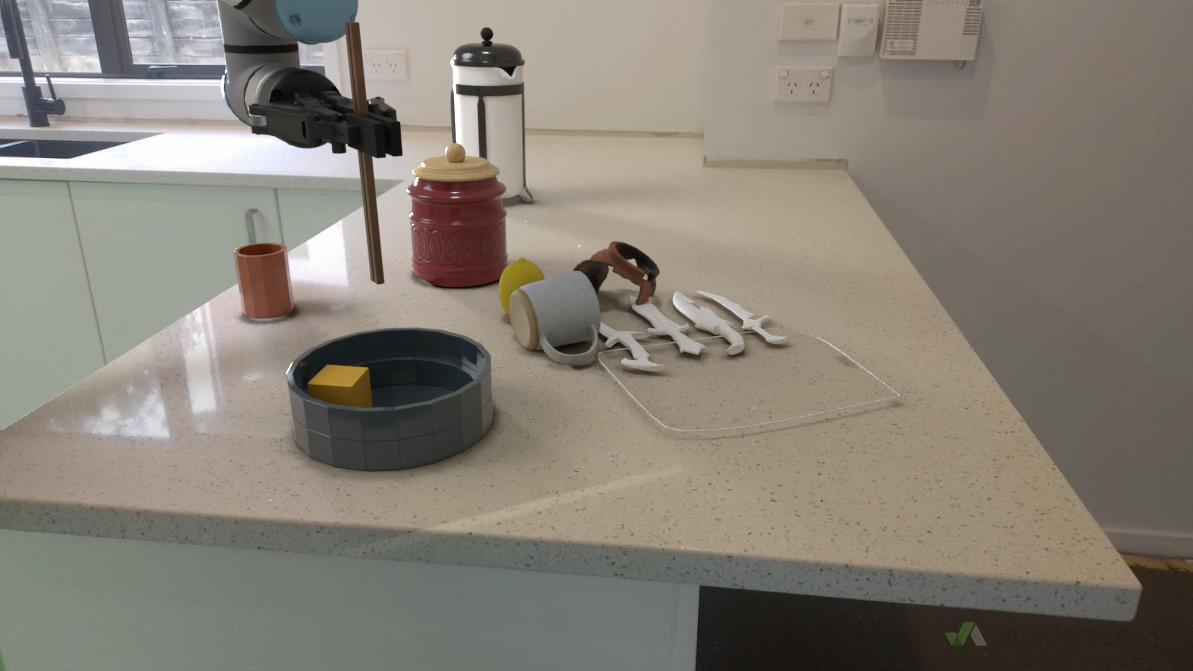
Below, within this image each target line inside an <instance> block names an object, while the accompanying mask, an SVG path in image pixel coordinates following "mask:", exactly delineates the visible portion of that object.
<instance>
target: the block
mask: <svg viewBox="0 0 1193 671" xmlns="http://www.w3.org/2000/svg"><path fill="white" fill-rule="evenodd" d="M308 390H309V397H312V398H315V399H318V400H321V401H324V402H327V403H330V404H334V405H342V406H351V407H359V408H372V397H371V386H370V376H369V368H367V367H352V366H338V365H326V366H325V367H324V368H323V369H322V370H321V371H320V372H319V373H318V374H317V375H316V376H315V377H314V378H313V379H312V380H311V381H310V382H309V383H308Z"/></svg>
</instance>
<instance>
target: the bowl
mask: <svg viewBox="0 0 1193 671" xmlns="http://www.w3.org/2000/svg"><path fill="white" fill-rule="evenodd" d="M326 365H338V366H352V367H367V368H369V376H370V386H371V397H372V408H359V407H351V406H342V405H334V404H330V403H327V402H324V401H321V400H318V399H315V398H312V397H309V390H308V383H309V382H310V381H311V380H312V379H313V378H314V377H315V376H316V375H317V374H318V373H319V372H320V371H321V370H322V369H323V368H324V367H325V366H326ZM492 370H493V369H492V355H491V354H490V353H489V351H488V350H487V349H486V347H485V346H484V345H483V343H481V342H479V341H476V340H475V339H473V338H470V337H469V336H467V335H464V334H461V333H456V332H452V331H448V330H446V329H439V328H438V329H437V328H429V327H427V328H426V327H415V326H414V327H386V328H385V327H383V328H378V329H370V330H363V331H358V332H354V333H349V334H346V335H342V336H339V337H335V338H331V339H329V340H326V341H324V342H322V343H319V344H317V345H315V346H313V347H310V348H308V349H307V350H306V351H304V352H303V353H301V354H300V355H299V356H298V357H296V358H295V359H293V360H292V362H291V364H290V365H289V367H288V369H287V371H286V372H285V381H286V389H287V396H288V402H289V411H290V418H291V425H292V426H291V427H292V431H293V435H294V440H295V444H296V446H297V447H298V448H299V449H301V450H302V452H304V453H305V454H306V455H307V456H308V457H310V458H311V459H313V460H316V461H319V462H321V463H324V464H327V465H329V466H332V467H335V468H341V469H348V470H357V471H362V472H363V471H364V472H371V471H372V472H373V471H396V470H407V469H410V468H416V467H420V466H426V465H430V464H435V463H438V462H439V461H442V460H444V459H447V458H450V457H452V456H455V455H458V454H460V453H462V452H464V451H465V450H467V449H469V448H470V447H472V446H473V445H474V444H476V443H477V442H479V441H480V440H481V439H483V438H484V436H485V435H486V433H487V432H488V430H489V429H490V427H491V426H492V424H494V423H493V422H494V401H493V400H494V398H493V373H492V372H493V371H492Z"/></svg>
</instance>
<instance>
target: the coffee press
mask: <svg viewBox="0 0 1193 671" xmlns="http://www.w3.org/2000/svg"><path fill="white" fill-rule="evenodd" d="M494 35H495V33H494V31H493V29H492V28H490V27H489V26H488V27H487V26H486V27H482V28H481V30H480V33H479V36H480V38H481V40H482V41H481V42H472V43H471V42H470V43H465V44H461V45H460V46H458V47H457V48H455V50H454V51H453V53H452V58H450V59H449V63H450V66H451V67H452V80H453V81H451V91H450V124H451V139H452V140H451V141H452V143H458V144H461V145H462V146H463V147H464V149H465V153H466V156H475V157H481V158H484V159H487V160H488V161H489V163H491V164H492V165H494V166H496V167H498V168H499V170H500V172H499V174H498V175H496V177H497V179H498V181H500V182H501V183H503V184H504V185H505V186H506V192H505V193H504V194H503V196H502V199H503V200H505V199H510V198H514V197H515V198H516V197H517V198H519V199H521V200H522V201H523V202H524V203H526V204H530V203H531V202H532V200H533V199H534V196H533V194H532V193H531V192H530V190H529V189H528V186H527V168H526V167H527V160H526V159H527V157H526V154H527V153H526V109H525V108H526V107H525V106H526V104H525V81H524V67H525V64H526V59H524V58H523V55H522V53H521V51H520V50H519V49H518V48H517V47H516V46H514V45H511V44H508V43H501V42H493V41H492V39H493V37H494ZM524 190H525V192H526V194H527V196H528V197H529V198H530V200H527V198H525V197H524V196H523V195H521V194H522V193H523V191H524Z"/></svg>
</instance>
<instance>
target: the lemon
mask: <svg viewBox="0 0 1193 671" xmlns="http://www.w3.org/2000/svg"><path fill="white" fill-rule="evenodd" d="M545 279H546V278H545V276H544V273H543V271H542V269H541V268H540V267H539V266H538V265H537V264H536V263H534V262H532V261H530V260H527V259H526V258H525V257H519V258H517V260H514V261H512V262H510V263H508V265H507V267H506V268H505V269H504V271H503V272H502V275H501V277H500V279H499V281H498V289H497V290H498V291H497V292H498V299H499V302H500V306H501V308H502V310H503V311H504V312H505V314H507V316H509V317H510V313H509V301H510V297H511V294H512V293H513V291H514V290H516V289H518V288H520V287H522V286H524V285H526V284H530V283H533V282H537V281H541V280H545Z"/></svg>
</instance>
